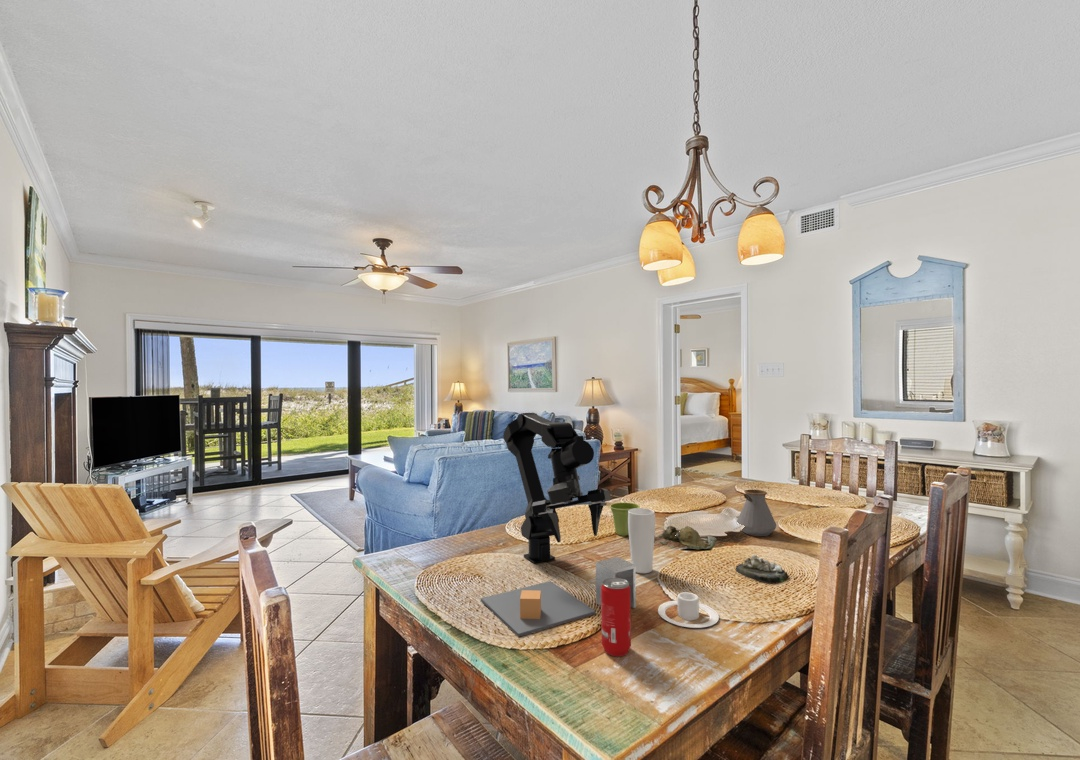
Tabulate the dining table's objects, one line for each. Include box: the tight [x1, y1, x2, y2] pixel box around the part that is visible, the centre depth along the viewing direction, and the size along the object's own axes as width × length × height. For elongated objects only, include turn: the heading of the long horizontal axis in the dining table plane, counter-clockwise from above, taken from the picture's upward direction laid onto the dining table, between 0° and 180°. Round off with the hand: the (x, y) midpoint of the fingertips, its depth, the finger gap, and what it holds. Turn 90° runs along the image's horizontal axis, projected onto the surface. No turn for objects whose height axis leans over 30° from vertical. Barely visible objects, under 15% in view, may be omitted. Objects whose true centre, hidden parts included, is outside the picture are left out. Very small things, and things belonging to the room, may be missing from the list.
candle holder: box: [657, 591, 720, 629], centre depth 102 cm, size 12×12×4 cm
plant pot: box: [609, 501, 641, 537], centre depth 157 cm, size 9×9×9 cm
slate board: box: [480, 580, 597, 638], centre depth 106 cm, size 18×18×1 cm
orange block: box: [520, 590, 541, 619], centre depth 102 cm, size 4×4×4 cm
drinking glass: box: [628, 507, 656, 574], centre depth 126 cm, size 7×7×15 cm
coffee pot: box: [736, 489, 777, 537], centre depth 152 cm, size 21×12×15 cm, turn 145°
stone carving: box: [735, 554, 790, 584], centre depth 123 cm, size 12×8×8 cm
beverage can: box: [600, 578, 632, 658], centre depth 89 cm, size 5×5×12 cm
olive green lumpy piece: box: [657, 525, 717, 551], centre depth 149 cm, size 18×18×5 cm
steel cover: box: [595, 556, 637, 609], centre depth 107 cm, size 6×6×9 cm
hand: (577, 539), depth 117 cm, fingers open, 9 cm apart
